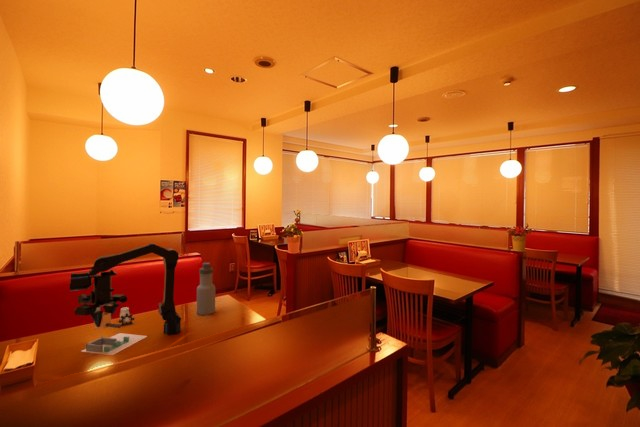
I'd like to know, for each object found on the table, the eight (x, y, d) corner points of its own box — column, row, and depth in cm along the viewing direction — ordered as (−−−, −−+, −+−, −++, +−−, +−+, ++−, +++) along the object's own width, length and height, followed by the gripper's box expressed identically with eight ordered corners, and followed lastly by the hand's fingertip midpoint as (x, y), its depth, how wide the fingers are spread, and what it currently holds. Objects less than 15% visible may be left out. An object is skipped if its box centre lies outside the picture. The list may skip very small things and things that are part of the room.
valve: (116, 321, 152) (118, 328, 143) (116, 308, 152) (118, 315, 143) (131, 318, 157) (134, 325, 147) (131, 306, 156) (134, 312, 147)
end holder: (116, 344, 124) (116, 338, 124) (100, 352, 117) (100, 346, 117) (102, 342, 125) (102, 337, 125) (86, 350, 118) (86, 344, 118)
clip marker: (128, 341, 127) (129, 336, 127) (118, 346, 122) (118, 341, 122) (125, 340, 128) (125, 336, 128) (114, 345, 123) (114, 341, 123)
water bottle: (197, 310, 170) (197, 261, 170) (215, 308, 173) (215, 261, 173) (195, 316, 160) (196, 265, 160) (214, 314, 163) (215, 264, 163)
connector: (123, 327, 121) (123, 314, 121) (115, 330, 118) (115, 317, 118) (102, 325, 123) (102, 312, 123) (93, 328, 120) (94, 315, 120)
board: (147, 338, 132) (147, 336, 132) (111, 357, 115) (111, 355, 115) (119, 335, 135) (119, 333, 135) (80, 353, 118) (80, 351, 118)
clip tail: (118, 346, 122) (118, 341, 122) (108, 351, 118) (108, 347, 118) (114, 345, 123) (114, 341, 123) (103, 351, 118) (103, 346, 118)
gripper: (106, 280, 132) (106, 315, 132) (62, 292, 113) (62, 332, 114) (128, 282, 129) (128, 317, 130) (86, 294, 111) (86, 335, 111)
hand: (102, 324), depth 121 cm, fingers closed on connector, 4 cm apart
